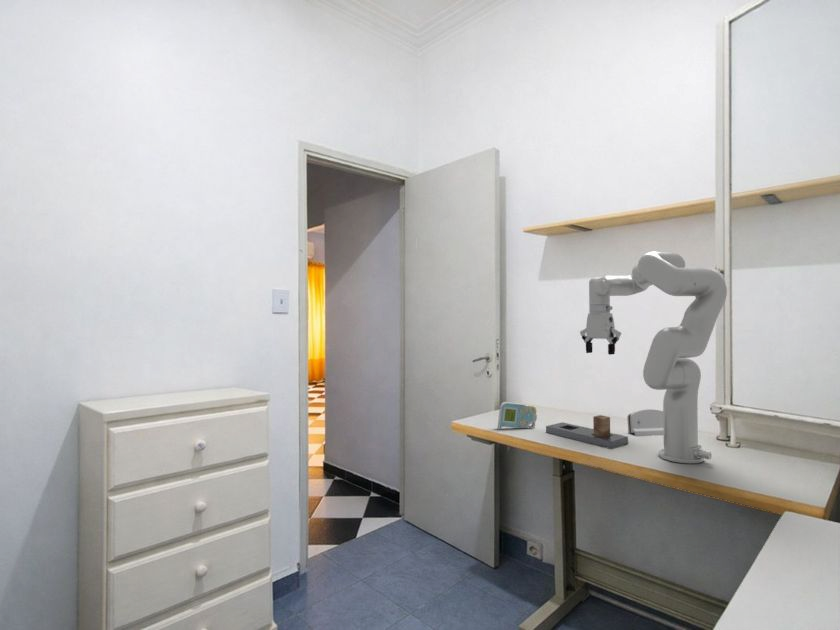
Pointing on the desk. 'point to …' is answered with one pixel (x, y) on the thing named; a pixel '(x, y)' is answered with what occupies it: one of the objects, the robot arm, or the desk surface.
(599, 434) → the walnut block
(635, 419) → the grey curved-top block
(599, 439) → the grey slotted board
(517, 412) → the handheld gaming console
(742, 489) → the desk surface
